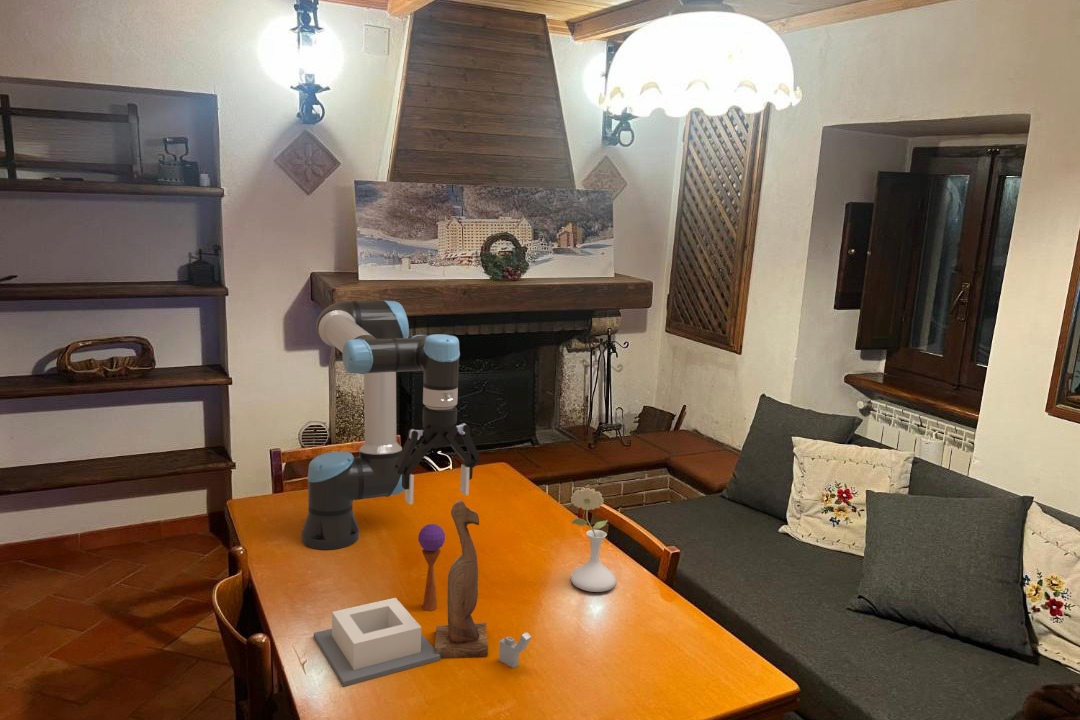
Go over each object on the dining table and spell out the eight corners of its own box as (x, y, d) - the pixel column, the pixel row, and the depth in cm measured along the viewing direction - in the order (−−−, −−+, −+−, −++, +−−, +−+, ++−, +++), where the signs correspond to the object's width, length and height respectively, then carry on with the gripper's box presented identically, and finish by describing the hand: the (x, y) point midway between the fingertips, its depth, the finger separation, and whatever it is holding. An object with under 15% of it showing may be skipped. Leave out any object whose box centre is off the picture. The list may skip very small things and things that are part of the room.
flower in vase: (622, 582, 198) (629, 487, 194) (606, 600, 188) (613, 501, 184) (574, 570, 204) (580, 478, 199) (556, 588, 194) (562, 491, 189)
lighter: (498, 660, 161) (499, 624, 159) (504, 656, 162) (505, 621, 161) (524, 674, 156) (526, 637, 155) (530, 670, 158) (532, 633, 156)
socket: (313, 637, 166) (313, 608, 165) (402, 616, 176) (403, 589, 175) (343, 686, 149) (343, 655, 148) (440, 660, 160) (441, 630, 159)
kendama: (424, 616, 177) (426, 532, 173) (412, 605, 182) (414, 523, 178) (447, 609, 180) (450, 527, 177) (435, 598, 185) (437, 518, 181)
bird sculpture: (491, 658, 162) (497, 511, 156) (434, 661, 160) (438, 512, 154) (485, 630, 173) (491, 491, 167) (432, 633, 171) (436, 492, 165)
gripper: (393, 415, 163) (391, 512, 167) (498, 404, 176) (494, 494, 180) (379, 406, 169) (378, 500, 173) (482, 397, 182) (478, 484, 186)
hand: (437, 497), depth 176 cm, fingers open, 13 cm apart
